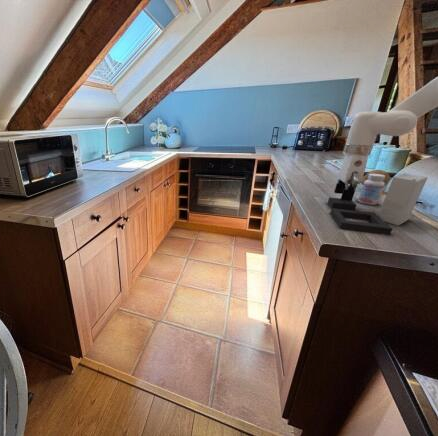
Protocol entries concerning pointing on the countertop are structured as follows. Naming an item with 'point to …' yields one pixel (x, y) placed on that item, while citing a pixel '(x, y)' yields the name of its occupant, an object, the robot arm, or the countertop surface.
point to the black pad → (341, 204)
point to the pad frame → (374, 227)
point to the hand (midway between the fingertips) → (342, 196)
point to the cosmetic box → (401, 198)
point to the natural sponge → (377, 173)
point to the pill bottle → (372, 189)
